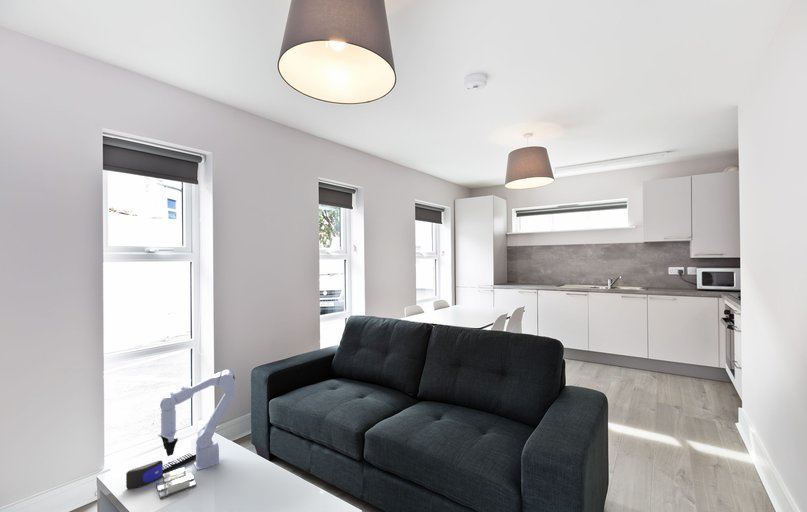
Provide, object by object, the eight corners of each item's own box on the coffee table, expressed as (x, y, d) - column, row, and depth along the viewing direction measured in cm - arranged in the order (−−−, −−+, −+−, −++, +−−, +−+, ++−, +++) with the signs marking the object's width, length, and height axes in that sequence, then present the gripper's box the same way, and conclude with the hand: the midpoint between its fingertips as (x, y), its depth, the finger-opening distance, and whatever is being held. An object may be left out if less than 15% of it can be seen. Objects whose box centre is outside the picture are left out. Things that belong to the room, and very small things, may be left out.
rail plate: (190, 475, 168) (190, 464, 168) (196, 487, 159) (196, 476, 159) (156, 486, 159) (156, 475, 159) (160, 500, 150) (160, 488, 150)
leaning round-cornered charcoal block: (127, 492, 156) (127, 474, 156) (126, 488, 158) (125, 470, 158) (164, 479, 165) (164, 462, 165) (162, 475, 168) (162, 458, 168)
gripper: (155, 419, 173) (156, 448, 173) (160, 430, 162) (160, 461, 162) (173, 415, 178) (173, 443, 178) (179, 425, 167) (179, 455, 167)
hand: (168, 451), depth 170 cm, fingers open, 7 cm apart
